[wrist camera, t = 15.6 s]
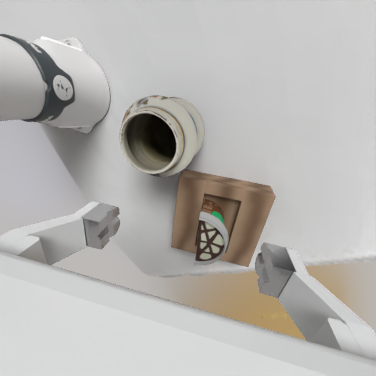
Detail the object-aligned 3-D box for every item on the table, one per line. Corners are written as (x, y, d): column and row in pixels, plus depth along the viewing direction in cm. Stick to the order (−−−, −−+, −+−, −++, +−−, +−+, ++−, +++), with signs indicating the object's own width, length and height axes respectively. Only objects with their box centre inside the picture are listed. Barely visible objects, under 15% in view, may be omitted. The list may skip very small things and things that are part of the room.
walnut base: (176, 233, 51) (171, 246, 46) (184, 169, 42) (178, 177, 38) (246, 251, 48) (248, 267, 43) (269, 185, 40) (275, 196, 35)
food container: (224, 240, 45) (223, 272, 36) (200, 235, 46) (193, 266, 37) (232, 197, 39) (233, 222, 31) (205, 193, 40) (199, 216, 32)
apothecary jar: (183, 166, 42) (155, 201, 26) (145, 131, 41) (90, 144, 25) (219, 127, 37) (212, 141, 21) (177, 85, 36) (135, 65, 19)
